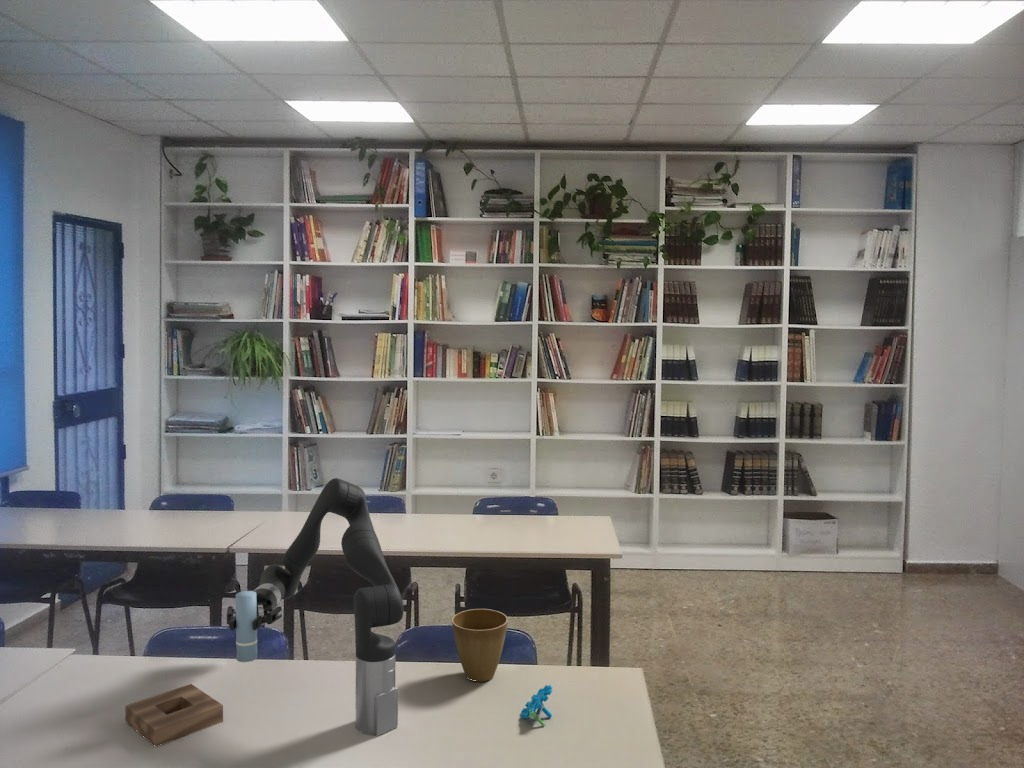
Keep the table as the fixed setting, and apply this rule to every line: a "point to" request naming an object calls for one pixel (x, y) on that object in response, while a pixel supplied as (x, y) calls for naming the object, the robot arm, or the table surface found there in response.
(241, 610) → the peg
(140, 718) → the socket block
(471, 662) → the plant pot
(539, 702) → the blue green construction toy
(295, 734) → the table surface
